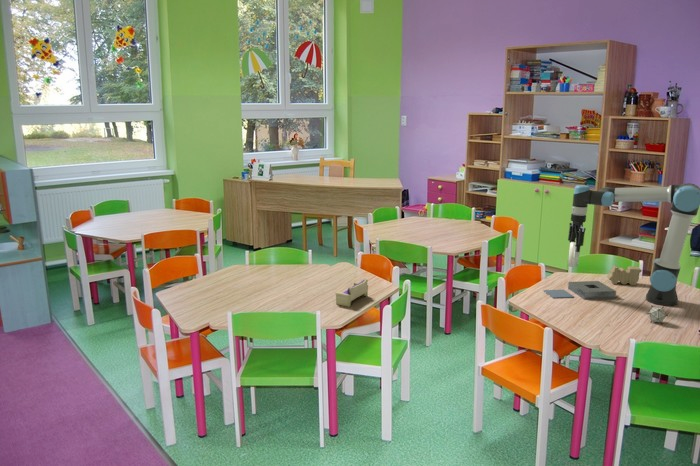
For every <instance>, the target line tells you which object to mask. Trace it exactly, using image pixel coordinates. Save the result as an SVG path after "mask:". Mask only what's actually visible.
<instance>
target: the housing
mask: <svg viewBox="0 0 700 466" xmlns="http://www.w3.org/2000/svg"><path fill="white" fill-rule="evenodd" d="M567 283H568V284H567V289H568V290H570V291H571V292H572V293H574V294H576V295H577V296H578V297H579V298H581V299H583V300H596V299H597V300H602V299H604V300H605V299H616V296H617V291H616V290H615V289H614V288H611V287H610V286H608V285H606V284H604V283H603V282H601V281H599V280H587V281H582V280H581V281H568V282H567Z"/></svg>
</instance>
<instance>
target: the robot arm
mask: <svg viewBox="0 0 700 466" xmlns="http://www.w3.org/2000/svg"><path fill="white" fill-rule="evenodd" d="M617 202H618V203H621V202H622V203H629V202H631V203H632V202H637V203H639V202H640V203H641V202H649V203H650V202H656V203H657V202H662V203H663V202H668V203H669V204H671V205H670V206H671V207H670V212H671V213H672V215H671V218H670V221H669V226H668V228H667V232H666V235H665V239H664V243H663V245H662V249H661V251H660V252H661V253H660V257H659V258H655V259H654V261H653V268H652V272H651V275H650V277H649V282H650V284H651V285H650V286H649V289H648V290H647V293H646V295H645V301H647V302H649V303H652V304H654V305H660V306H665V307H666V306H667V307H669V306H670V307H671V306H673V307H674V306H677V305H678V303H679V298H678V293H677V283H678V277H679V274H680V270H681V265H680V263H679V262H680V259H681V256H682V252H683V251H684V246H685V243H686V241H687V237H688V233H689V230H690V226H691V223H692V219H693V218H695V217H696V216H698V211H699V209H700V187H699V186H698V185H696V184H694V183H680V184H670V185H669V186H646V187H645V186H644V187H642V186H641V187H637V186H635V187H607V186H605V187H602V188H600V189H599V190H592V189H591V188H590V186H589V185H585V184H577V185H575V186H574V191H573V197H572V207H571V215H570V221H571V222H569V230H568V238H567V240H568V241H569V244H570V243H571V242H576V245H575V249H574V258H580V252H581V247H583V246H584V243H585V241H584V240H585V232H586V230H587V229H586V227H584V223H585V222H587V221H586V220H587V212H588V205H593V206H602V207H612V206H613V203H617ZM569 252H570V247H569V249H568V253H569Z"/></svg>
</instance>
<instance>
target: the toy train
mask: <svg viewBox="0 0 700 466" xmlns="http://www.w3.org/2000/svg"><path fill="white" fill-rule="evenodd" d="M609 271H610V272H609V273H608V274H607V275H606V278H607V279H608V281H610V282H611V283H612V284H613V285H618V283H621V284H622V285H627V284H629V285H630V286H636V285H637V284H638V283H639V280H640V273H641V272H642V269H641V268H640V267H639V266H633V265H632V266H631V265H630V266H629V265H628V266H627V268H626V269H624V268H623V267H617V265H614V264H613V265H612V267H611V269H610V270H609Z"/></svg>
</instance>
